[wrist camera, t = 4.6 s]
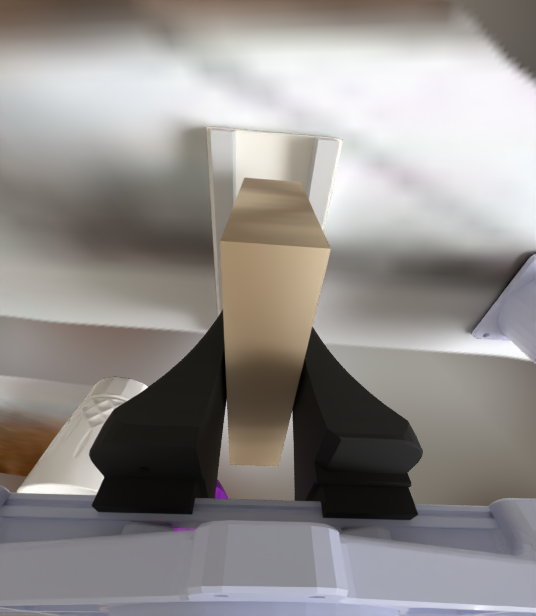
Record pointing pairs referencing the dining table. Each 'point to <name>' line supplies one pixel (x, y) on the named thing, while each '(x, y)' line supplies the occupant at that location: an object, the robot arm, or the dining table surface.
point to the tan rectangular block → (268, 311)
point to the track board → (266, 173)
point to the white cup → (79, 442)
